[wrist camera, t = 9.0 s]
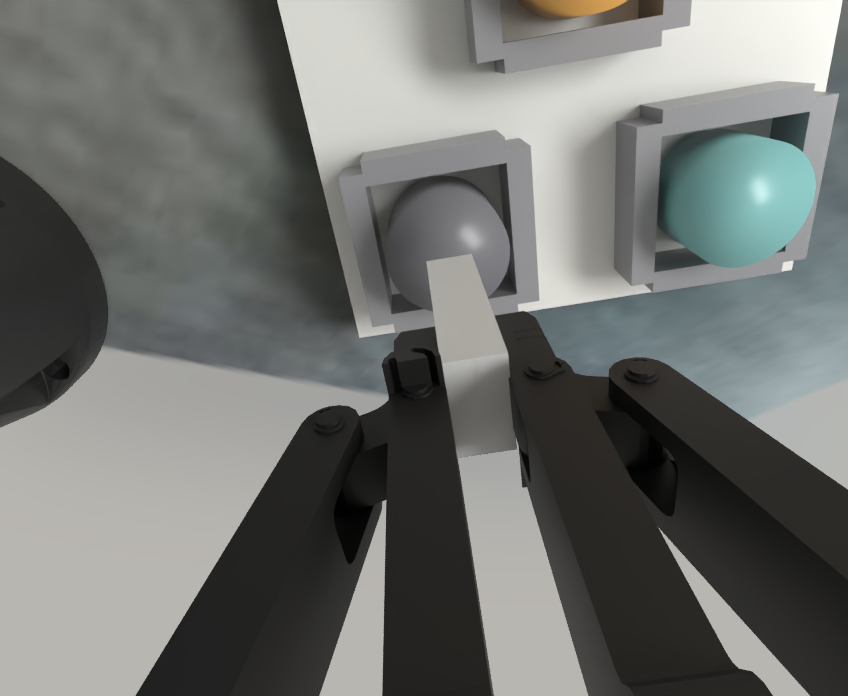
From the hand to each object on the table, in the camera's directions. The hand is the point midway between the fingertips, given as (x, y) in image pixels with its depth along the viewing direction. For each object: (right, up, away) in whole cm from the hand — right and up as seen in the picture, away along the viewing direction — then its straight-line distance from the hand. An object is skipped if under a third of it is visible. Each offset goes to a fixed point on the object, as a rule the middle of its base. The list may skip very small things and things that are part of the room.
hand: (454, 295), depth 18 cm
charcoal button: (0, +4, +7) cm, 8 cm away
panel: (+5, +10, +6) cm, 13 cm away
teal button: (+12, +5, +6) cm, 14 cm away
